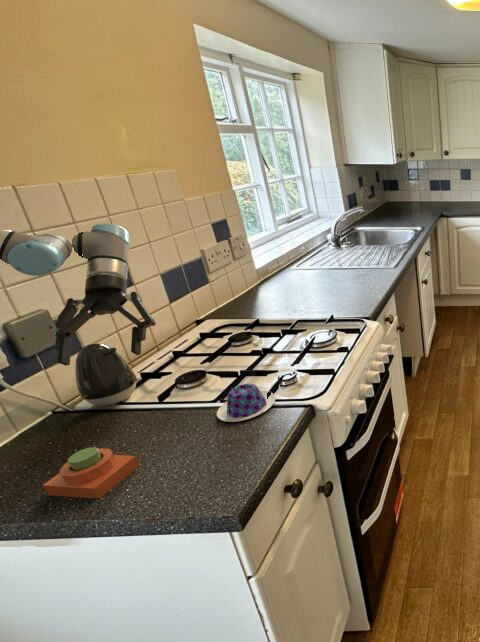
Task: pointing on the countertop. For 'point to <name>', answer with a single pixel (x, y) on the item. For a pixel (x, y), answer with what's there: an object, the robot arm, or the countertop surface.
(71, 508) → the countertop surface
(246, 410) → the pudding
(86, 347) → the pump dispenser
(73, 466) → the button
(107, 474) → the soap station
